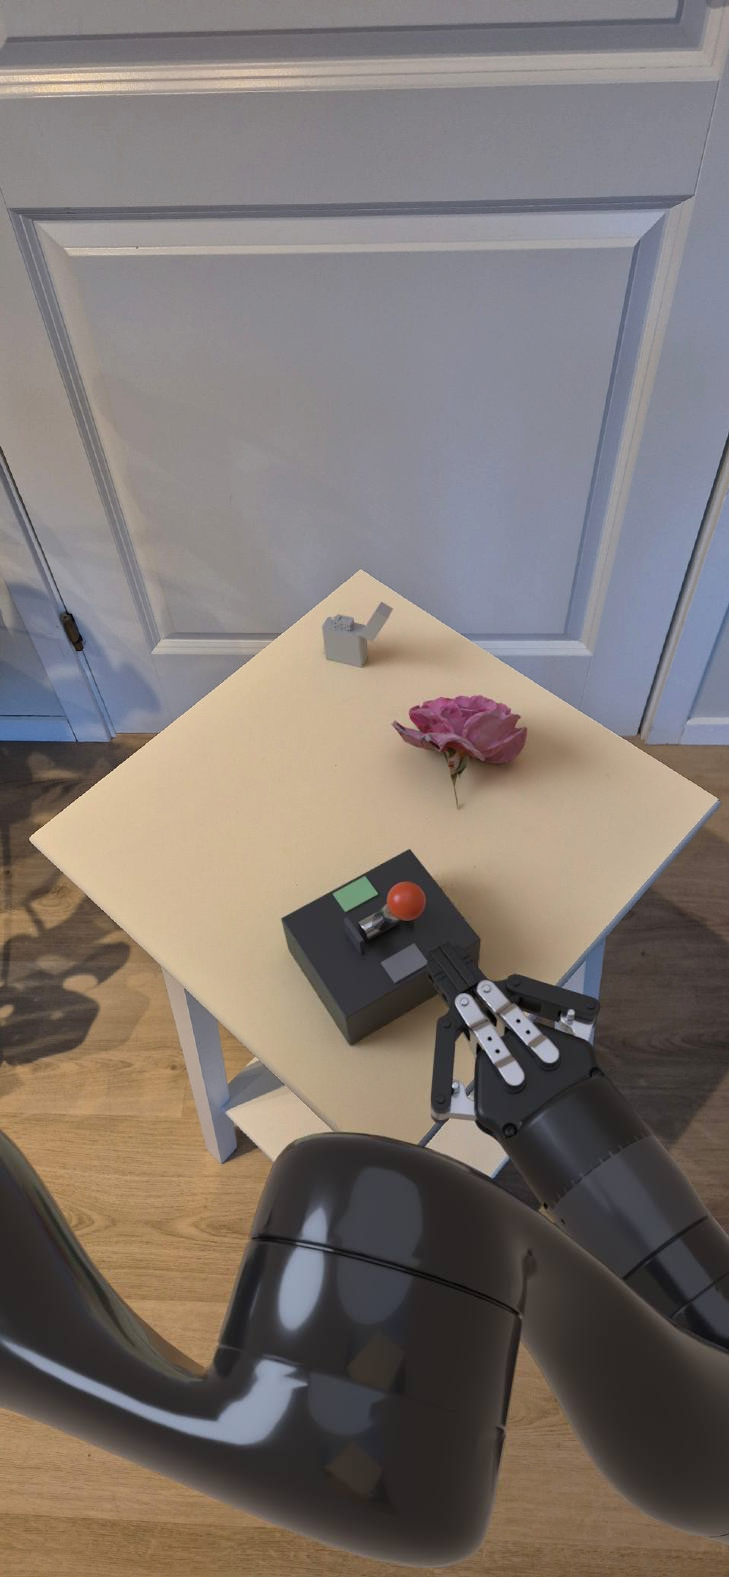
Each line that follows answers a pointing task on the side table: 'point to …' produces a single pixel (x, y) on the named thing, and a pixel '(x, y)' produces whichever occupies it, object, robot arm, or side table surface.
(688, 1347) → the robot arm
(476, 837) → the side table surface
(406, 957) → the switch box
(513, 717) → the flower
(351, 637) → the lighter
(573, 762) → the side table surface
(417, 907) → the toggle
